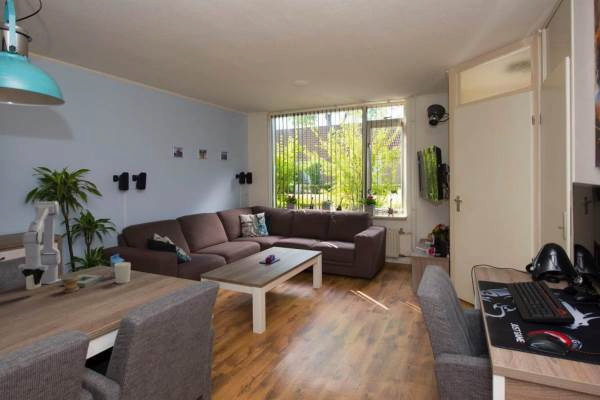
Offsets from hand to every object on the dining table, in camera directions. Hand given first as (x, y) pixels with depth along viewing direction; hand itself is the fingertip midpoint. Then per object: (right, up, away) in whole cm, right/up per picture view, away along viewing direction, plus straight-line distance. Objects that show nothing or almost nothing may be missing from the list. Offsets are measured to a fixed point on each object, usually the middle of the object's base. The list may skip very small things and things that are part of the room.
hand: (34, 283), depth 167 cm
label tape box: (+23, -4, +34) cm, 41 cm away
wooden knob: (+13, -5, +8) cm, 16 cm away
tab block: (0, -2, 0) cm, 2 cm away
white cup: (+31, -5, +23) cm, 39 cm away
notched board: (+11, -4, +21) cm, 24 cm away
